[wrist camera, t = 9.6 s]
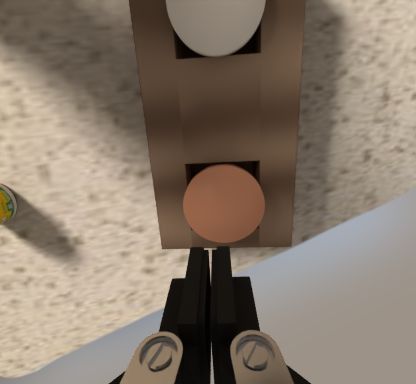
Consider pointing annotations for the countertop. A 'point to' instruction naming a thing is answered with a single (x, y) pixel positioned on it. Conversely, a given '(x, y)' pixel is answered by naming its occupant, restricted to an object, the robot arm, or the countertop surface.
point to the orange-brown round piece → (223, 203)
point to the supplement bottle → (6, 204)
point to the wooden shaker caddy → (222, 116)
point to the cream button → (215, 24)
